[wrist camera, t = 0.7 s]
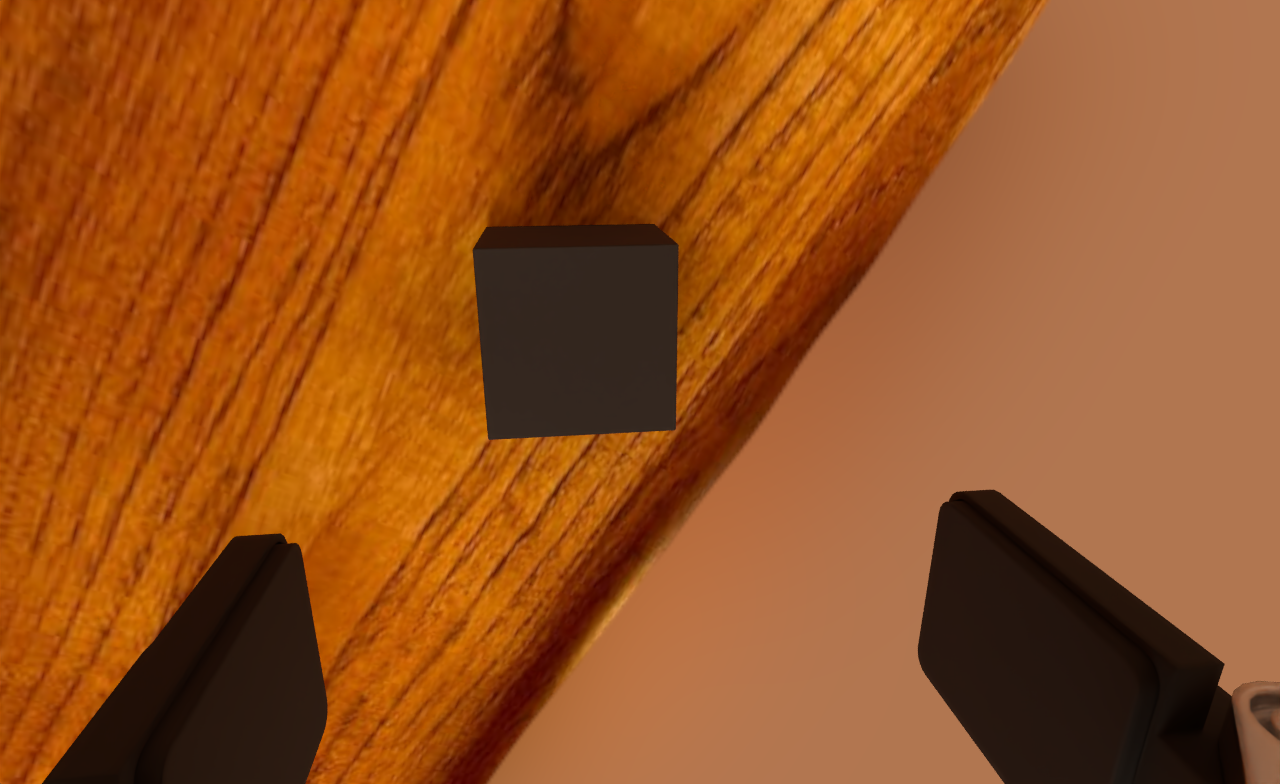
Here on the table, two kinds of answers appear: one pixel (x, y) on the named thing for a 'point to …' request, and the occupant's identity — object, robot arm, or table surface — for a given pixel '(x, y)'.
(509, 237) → the dark block
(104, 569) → the table surface
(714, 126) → the table surface
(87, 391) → the table surface
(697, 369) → the table surface
